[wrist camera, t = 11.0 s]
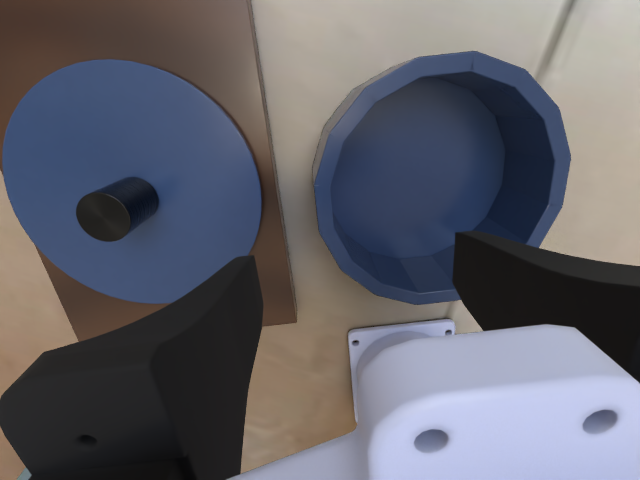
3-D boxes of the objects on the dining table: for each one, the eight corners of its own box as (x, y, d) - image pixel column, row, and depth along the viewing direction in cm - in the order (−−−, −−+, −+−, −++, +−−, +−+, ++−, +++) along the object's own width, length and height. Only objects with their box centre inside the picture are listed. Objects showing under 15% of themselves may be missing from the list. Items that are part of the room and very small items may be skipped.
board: (297, 310, 25) (296, 322, 24) (93, 332, 25) (80, 346, 24) (247, -21, 17) (242, -31, 16) (-46, 12, 17) (-76, 4, 16)
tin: (502, 254, 24) (548, 291, 20) (323, 274, 24) (328, 315, 20) (525, 52, 19) (592, 37, 15) (301, 76, 19) (300, 69, 15)
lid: (279, 282, 22) (273, 324, 18) (72, 305, 22) (19, 352, 18) (239, 47, 17) (219, 30, 13) (-29, 76, 17) (-135, 69, 13)
